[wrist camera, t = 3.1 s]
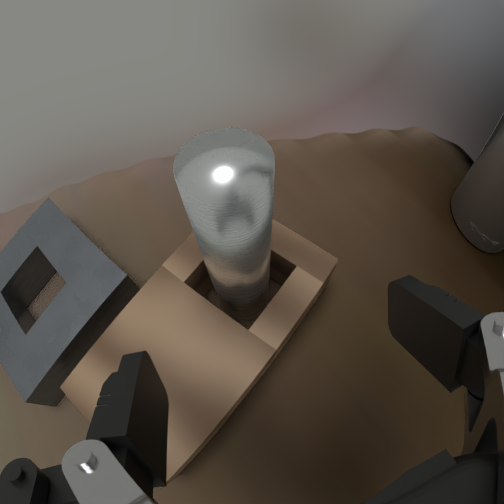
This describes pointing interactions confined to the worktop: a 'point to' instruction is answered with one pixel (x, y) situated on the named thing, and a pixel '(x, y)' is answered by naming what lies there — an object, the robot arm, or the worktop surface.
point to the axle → (231, 213)
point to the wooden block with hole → (203, 339)
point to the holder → (54, 302)
